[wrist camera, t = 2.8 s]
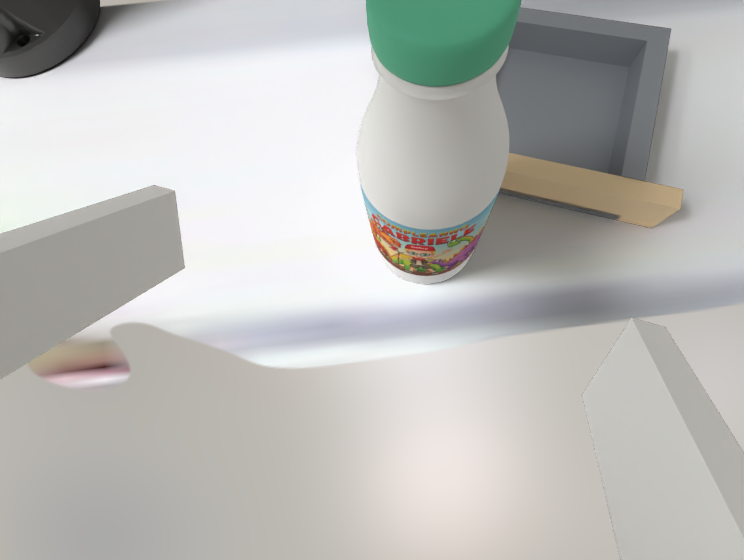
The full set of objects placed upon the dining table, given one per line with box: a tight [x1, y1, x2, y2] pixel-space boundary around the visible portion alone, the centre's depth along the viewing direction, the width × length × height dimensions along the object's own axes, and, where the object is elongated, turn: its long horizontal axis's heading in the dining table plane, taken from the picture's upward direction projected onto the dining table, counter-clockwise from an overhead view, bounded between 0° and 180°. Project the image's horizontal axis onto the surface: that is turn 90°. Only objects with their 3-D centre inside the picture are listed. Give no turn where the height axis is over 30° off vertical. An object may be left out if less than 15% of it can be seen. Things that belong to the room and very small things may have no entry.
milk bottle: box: [357, 0, 521, 284], centre depth 20 cm, size 8×8×20 cm
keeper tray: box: [496, 7, 683, 228], centre depth 30 cm, size 20×15×3 cm
